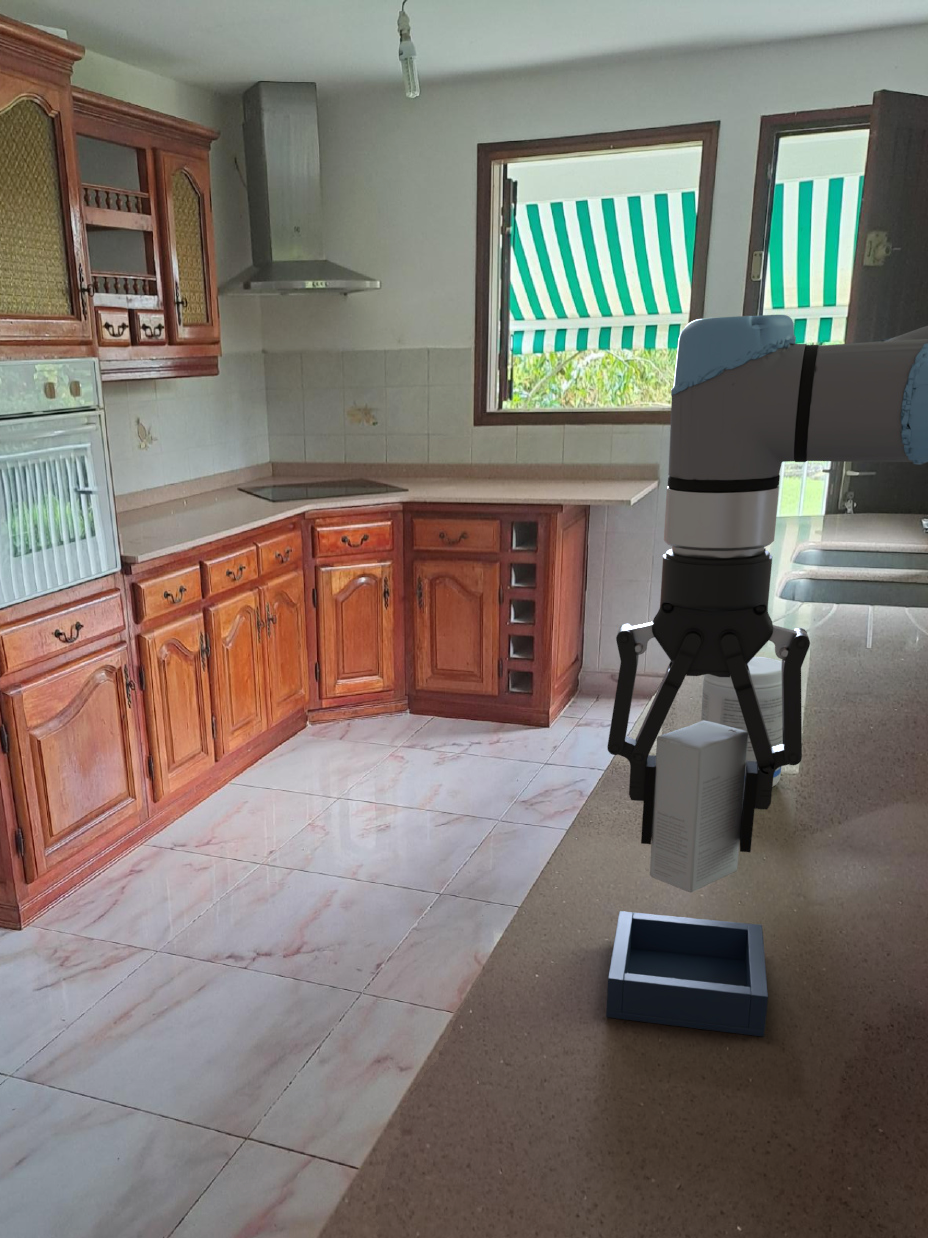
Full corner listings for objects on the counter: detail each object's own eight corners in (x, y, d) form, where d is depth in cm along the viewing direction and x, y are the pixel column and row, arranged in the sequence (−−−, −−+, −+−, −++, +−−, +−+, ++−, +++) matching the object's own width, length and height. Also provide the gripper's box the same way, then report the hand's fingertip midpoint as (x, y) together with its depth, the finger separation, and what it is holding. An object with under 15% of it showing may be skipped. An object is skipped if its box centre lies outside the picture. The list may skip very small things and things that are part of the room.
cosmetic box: (693, 856, 92) (704, 718, 88) (738, 872, 89) (751, 730, 85) (645, 876, 89) (655, 735, 85) (690, 894, 86) (701, 748, 82)
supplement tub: (796, 782, 135) (808, 665, 130) (745, 801, 130) (756, 679, 125) (730, 762, 143) (739, 650, 138) (679, 779, 138) (687, 664, 133)
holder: (758, 961, 96) (762, 924, 95) (763, 1037, 86) (768, 996, 84) (617, 946, 100) (619, 910, 99) (606, 1017, 89) (607, 978, 88)
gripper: (860, 540, 80) (825, 832, 89) (584, 539, 86) (574, 814, 94) (873, 558, 74) (834, 872, 82) (573, 555, 80) (564, 849, 88)
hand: (695, 840), depth 88 cm, fingers closed on cosmetic box, 7 cm apart
